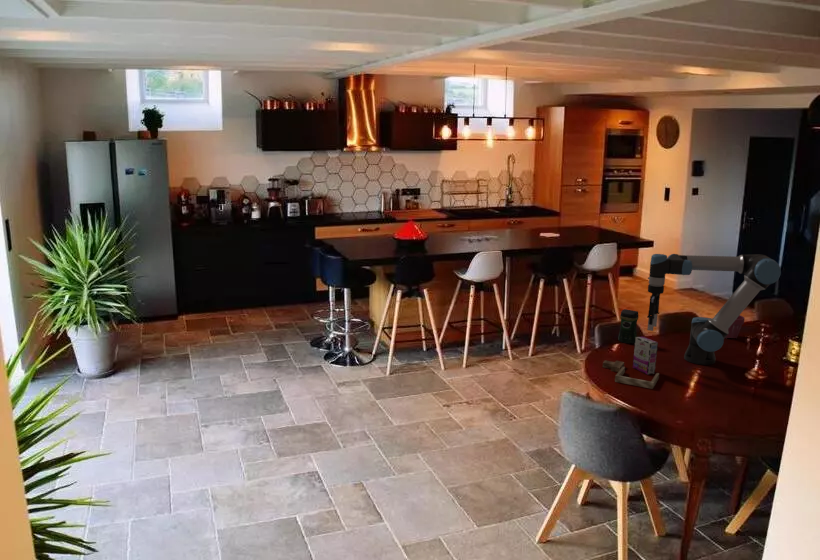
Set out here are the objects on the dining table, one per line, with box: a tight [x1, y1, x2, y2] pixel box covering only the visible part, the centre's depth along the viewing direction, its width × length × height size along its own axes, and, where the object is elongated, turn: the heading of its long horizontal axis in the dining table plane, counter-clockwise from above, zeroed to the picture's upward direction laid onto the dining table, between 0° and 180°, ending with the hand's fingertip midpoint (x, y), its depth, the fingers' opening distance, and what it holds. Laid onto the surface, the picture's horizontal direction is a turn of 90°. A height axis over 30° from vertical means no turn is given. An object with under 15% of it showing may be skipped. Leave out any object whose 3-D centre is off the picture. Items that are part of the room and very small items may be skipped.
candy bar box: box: [632, 336, 659, 376], centre depth 342 cm, size 11×5×16 cm, turn 23°
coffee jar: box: [618, 308, 640, 344], centre depth 389 cm, size 10×8×19 cm
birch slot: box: [614, 366, 660, 390], centre depth 330 cm, size 17×15×3 cm
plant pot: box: [724, 314, 745, 339], centre depth 403 cm, size 14×14×13 cm
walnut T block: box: [602, 360, 625, 373], centre depth 347 cm, size 9×10×2 cm
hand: (651, 328), depth 350 cm, fingers open, 8 cm apart
